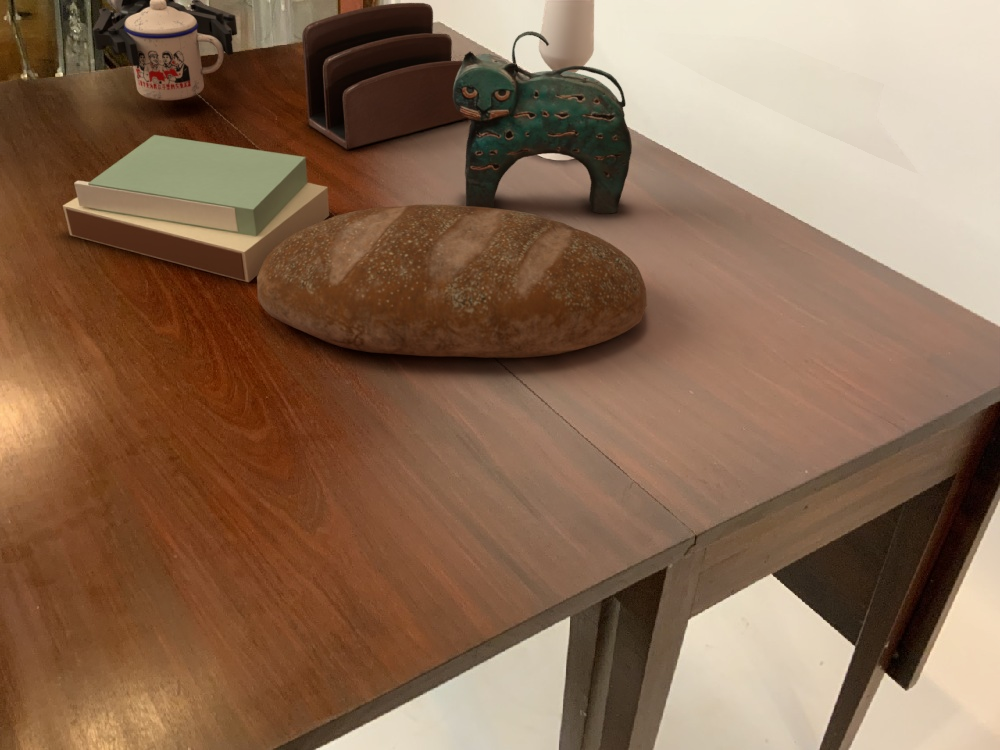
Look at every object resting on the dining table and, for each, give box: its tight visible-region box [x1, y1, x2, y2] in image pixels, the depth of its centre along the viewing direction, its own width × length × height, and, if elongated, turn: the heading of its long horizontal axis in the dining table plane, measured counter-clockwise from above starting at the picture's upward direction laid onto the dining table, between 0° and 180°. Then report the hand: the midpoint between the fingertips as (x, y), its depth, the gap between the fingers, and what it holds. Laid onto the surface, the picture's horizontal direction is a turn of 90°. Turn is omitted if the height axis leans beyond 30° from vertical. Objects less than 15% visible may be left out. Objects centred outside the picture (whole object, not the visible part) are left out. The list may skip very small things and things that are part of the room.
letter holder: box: [301, 2, 468, 151], centre depth 126 cm, size 10×20×14 cm, turn 129°
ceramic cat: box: [453, 30, 633, 214], centre depth 107 cm, size 20×6×20 cm, turn 91°
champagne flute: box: [537, 0, 595, 161], centre depth 119 cm, size 7×7×24 cm
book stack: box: [62, 134, 330, 283], centre depth 104 cm, size 22×16×6 cm
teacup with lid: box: [124, 0, 225, 101], centre depth 127 cm, size 12×9×12 cm
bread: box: [256, 203, 648, 358], centre depth 92 cm, size 22×37×8 cm, turn 90°
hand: (183, 49), depth 124 cm, fingers closed on teacup with lid, 11 cm apart
